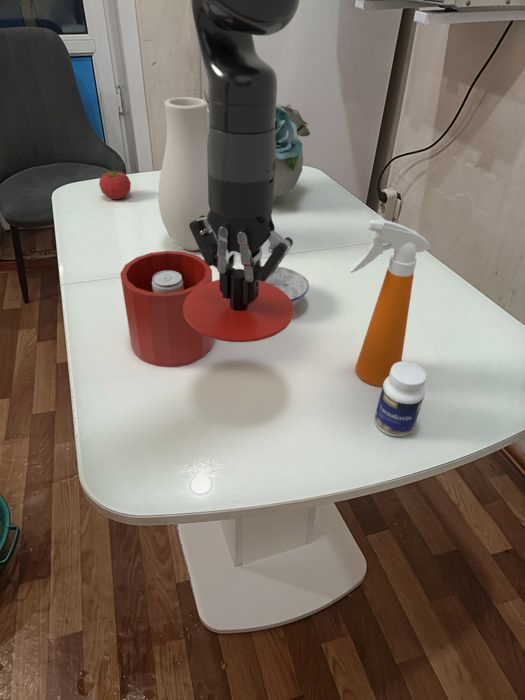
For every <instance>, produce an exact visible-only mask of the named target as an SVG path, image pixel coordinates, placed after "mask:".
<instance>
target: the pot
mask: <svg viewBox="0 0 525 700" xmlns="http://www.w3.org/2000/svg"><path fill="white" fill-rule="evenodd" d="M161 271H175V272H178V273H179V274H180V275H181V276H182V280H183V289H184V290H183V291H177V292H170V293H158V292H153V288H152V281H153V279H152V278H153V276H154V275H155V274H156V273H158V272H161ZM120 280H121V286H122V288H121V289H122V295H123V301H124V308H125V314H126V319H127V320H126V321H127V326H128V333H129V340H130V344H131V349H132V352H133V353H134V355H135V356H136V357H137V358H139V359H140V360H141V361H143V362H145V363H148V364H150V365H153V366H157V367H167V368H168V367H169V368H170V367H182V366H186V365H189V364H192V363H195V362H197V361H198V360H200V359H202V358H204V357H205V356H206V355H207V354H208V353H209V351H210V350H211V349H212V347H213V345H214V344H213V343H214V339H213V338H210V337H207V336H205V335H203V334H201V333H199V332H197V331H196V330H195V329H193V328H192V327H191V326H190V325H189V324H188V322H187V321H186V319H185V317H184V314H183V304H184V301H185V299H186V297H187V296H188V295H189V294H190V293H191V292H192V291H193V290H195V289H196V288H198V287H199V286H201V285H203V284H206V283H209V282H212V281H213V270H212V268H211V266H208V265H207V264H206V262H205V260H204V258H203V257H200V256H198V255H196V254H193V253H189V252H186V251H178V250H177V251H176V250H163V251H155V252H149V253H146V254H143V255H140V256H139V255H138V256H137V257H135V258H133V259H131V260H130V261H129V262H127V263H126V264H125V265H124V267H122V269H121V271H120Z"/></svg>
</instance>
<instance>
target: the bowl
mask: <svg viewBox="0 0 525 700" xmlns="http://www.w3.org/2000/svg"><path fill="white" fill-rule="evenodd" d="M259 281H260V280H259ZM264 282H265V283H268V284H271V285H273V286H275V287H277V288H279V289H280V290H282V291H283V292H284V293H285V294H287V295H288V297H289V298H290V299H291V301H292V303H293V307H294V308H295V306H296V305H297V303H299V301H300V300H301V299H302V298H304V296H305V295H306V294H307V293H308V291H309V288H310V284H309V280H308V279H307V278H306V277H305V276H304V275H302V274H301V273H299V272H297V271H295V270H293V269H292V268H291V269H290V268H287V267H283V266H278V267H277V268H276V270H275V271H274V272H273V273H272V274H271V275H270V276H269V277H268V278H267V280H266V281H264Z"/></svg>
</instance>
